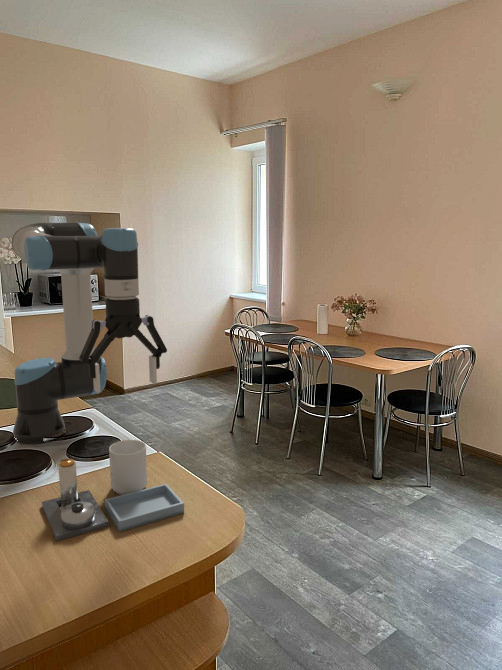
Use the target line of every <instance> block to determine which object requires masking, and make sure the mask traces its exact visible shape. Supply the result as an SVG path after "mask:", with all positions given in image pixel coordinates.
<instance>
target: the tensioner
mask: <svg viewBox="0 0 502 670" xmlns="http://www.w3.org/2000/svg"><path fill="white" fill-rule="evenodd" d="M59 506H61V496H59V497H56V498H52V499H47V500H43V501H41V508H42V510H43V512H44V515H45V517H46V520H47V522H48V524H49V527H50V530H51V532H52V533H53V537H54V538H55V541H56V542H59V541H63V540H66V539H70V538H73V537H76V536H80V535H84V534H86V533H90V532H94V531H97V530H101V529H105V528H108V527H109V526H110V525H109V520H108V519H107V517H106V515H105V514H104V512H103V510H102V509H101V507H100V505H99V504H98V501H96V499H95V498H94V496H93V493H92V492H91V491H90V490H89V489H87V490H83V491H80V492H78V502H75V503H71V504H69V505H67V506H65V507H64V508H63V509H62V510H61V508H60V507H59Z"/></svg>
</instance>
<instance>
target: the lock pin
mask: <svg viewBox="0 0 502 670" xmlns="http://www.w3.org/2000/svg"><path fill="white" fill-rule="evenodd" d="M57 467H58V468H57V469H58V480H59V492H60V493H59V494H60V496H59V497H61V505H60V506H61V508H60V510H62V509H63V508H64V507H65V506H67V505H69V504H71V503H75V502H79V501H78V493H79V492H78V491H79V490H78V476H77V475H78V474H77V462H76V461H75V459H73V458H69V457H68V458H67V457H66V458H63V459H61V460H60V461H59V464H58V465H57Z"/></svg>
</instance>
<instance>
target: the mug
mask: <svg viewBox="0 0 502 670" xmlns="http://www.w3.org/2000/svg"><path fill="white" fill-rule="evenodd" d="M108 452H109V453H108V456H109V473H110V474H109V475H110V478H109V479H110V487H111V490H113V491H114V493H116V494H118V495H119V496H121V495H124V494H128V493H132V492H136V491H140V490H144V489H146V487H147V484H148V472H147V471H148V469H147V466H148V465H147V444H146V443H145V442H144V441H141V440H138V439H125V440H124V439H123V440H119V441H115V442H114V443H112V444H111V445H110V446H109V448H108Z"/></svg>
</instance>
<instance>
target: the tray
mask: <svg viewBox="0 0 502 670" xmlns="http://www.w3.org/2000/svg"><path fill="white" fill-rule="evenodd" d="M104 506H105V507H104V508H105V512H106V513H107V514H108V516H109V517H110V519H111V521H112V522H113V524H114V525H115V527H116V528H117V530H118V532H119V533H122V532H125V531H127V530H132V529H134V528H138V527H141V526H144V525H149V524H152V523H155V522H158V521H161V520H166V519H169V518H172V517H175V516H179V515H182V514H185V502H184V501H183V500H182V499H181V498H180V496H178V495H177V493H175V491H174V490H173V489H172V488H171V487H170V486H169V485H168V484H167V483H164V484H159V485H156V486H152V487H148V488H144V489H143V490H140V491H136V492H132V493H128V494H124V495H118V496H113V497H110V498H106V499H105V498H104Z"/></svg>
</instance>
